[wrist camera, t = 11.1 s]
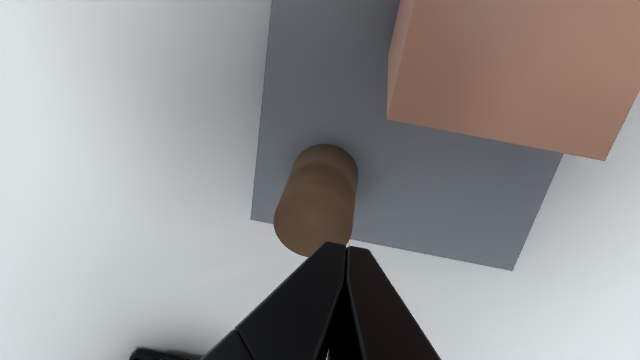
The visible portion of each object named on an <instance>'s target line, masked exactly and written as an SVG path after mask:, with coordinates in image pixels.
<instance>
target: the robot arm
mask: <svg viewBox="0 0 640 360" xmlns="http://www.w3.org/2000/svg"><path fill="white" fill-rule="evenodd" d="M327 354H328V356H327ZM326 358H327V360H441V358H440V357H439V355H438V354H437V352H436V351H435V349H434V348H433V346H432V345H431V343H430V342H429V340H428V339H427V337H426V336H425V334H424V333H423V331H422V330H421V328H420V327H419V325H418V323H417V322H416V320H415V319H414V317H413V316H412V314H411V313H410V311H409V310H408V308H407V307H406V305H405V304H404V302H403V301H402V299H401V298H400V296H399V295H398V293H397V292H396V290H395V289H394V287H393V286H392V284H391V283H390V281H389V280H388V278H387V276H386V275H385V273H384V272H383V270H382V269H381V267H380V266H379V264H378V263H377V261H376V260H375V258H374V257H373V255H372V254H371V252H370V251H369V250H368V249H364V248H359V247H354V246H349V247H348V248H346V246H345V245H344V244H339V243H334V242H329V241H327V242H325V243H323V244H322V245H321V246H320V247H319V248H318V249H317V250H316V251H315V252H314V253H313V254H312V255H311V256H310V257H309V258H308V259H307V260H305V261H304V262H303V263H302V264H301V265H300V266H299V267H298V268H297V269H296V270H295V271H294V272H293V273H292V274H291V275H290V276H289V277H288V278H287V279H285V280H284V281H283V282H282V283H281V284H280V285H279V286H278V287H277V288H276V289H275V290H274V291H273V292H272V293H271V294H270V295H269V296H268V297H267V298H266V299H264V300H263V301H262V302H261V303H260V304H259V305H258V306H257V307H256V308H255V309H254V310H253V311H252V312H251V313H250V314H249V315H248V316H247V317H246V318H244V319H243V320H242V321H241V322H240V323H239V324H238V325H237V326H236V327H235V329H234V330H232V331H230V332H229V333H228V334H227V335H226V336H225V337H224V338H223V339H222V340H221V341H220V342H219V343H218V344H217V345H216V346H215V347H213V348H212V349H211V350H210V351H209V352H208V353H207V354H205V355H204V356H203V357H202V358H201V359H200V360H326ZM129 360H189V359H184V358H179V357H174V356H169V355H165V354H160V353H155V352H150V351H145V350H140V349H137V350H134V351H133V353H132V355H131V356H130V359H129Z"/></svg>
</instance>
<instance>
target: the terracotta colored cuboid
mask: <svg viewBox="0 0 640 360" xmlns="http://www.w3.org/2000/svg"><path fill="white" fill-rule="evenodd" d="M639 90H640V0H400V4H399V8H398V13H397V17H396V22H395V26H394V31H393V35H392V40H391V45H390V49H389V54H388V90H387V120H392V121H398V122H403V123H408V124H413V125H419V126H424V127H429V128H434V129H440V130H445V131H450V132H455V133H461V134H466V135H471V136H476V137H482V138H487V139H492V140H497V141H503V142H508V143H513V144H518V145H524V146H529V147H534V148H539V149H545V150H550V151H555V152H560V153H566V154H571V155H576V156H581V157H587V158H592V159H597V160H602V161H605V159H606V157H607V155H608V153H609V151H610V149H611V147H612V145H613V143H614V141H615V139H616V137H617V135H618V133H619V131H620V129H621V127H622V125H623V123H624V121H625V119H626V117H627V115H628V113H629V110H630V108H631V106H632V104H633V102H634V100H635V98H636V96H637V94H638V92H639Z"/></svg>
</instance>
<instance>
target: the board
mask: <svg viewBox="0 0 640 360" xmlns="http://www.w3.org/2000/svg"><path fill="white" fill-rule="evenodd" d="M399 4H400V0H272V6H271V16H270V26H269V36H268V47H267V57H266V67H265V77H264V87H263V98H262V108H261V118H260V128H259V138H258V149H257V159H256V169H255V179H254V189H253V200H252V210H251V220H256V221H261V222H266V223H271V224H274V214H275V211H276V208H277V206H278V203H279V201H280V198H281V196H282V193H283V190H284V188H285V185H286V183H287V180H288V178H289V175H290V173H291V170H292V168H293V165H294V162H295V160H296V158H297V157H298V155H299V154H300V153H301V152H302V151H304V150H305V149H307V148H308V147H311V146H313V145H317V144H330V145H334V146H337V147H340V148H341V149H343V150H345V151H346V152H347V153H348V154H349V155H350V156H351V157H352V158H353V160H354V161H355V163H356V165H357V169H358V184H357V193H356V202H355V211H354V220H353V229H352V234H351V237H350V239H353V240H358V241H363V242H368V243H373V244H378V245H383V246H388V247H393V248H398V249H404V250H409V251H414V252H419V253H424V254H429V255H434V256H439V257H444V258H449V259H455V260H460V261H465V262H470V263H475V264H480V265H485V266H490V267H495V268H500V269H505V270H511V271H513V268H514V266H515V264H516V262H517V259H518V257H519V255H520V252H521V250H522V248H523V245H524V243H525V241H526V238H527V236H528V234H529V232H530V229H531V227H532V225H533V222H534V220H535V218H536V215H537V213H538V211H539V209H540V206H541V204H542V202H543V199H544V197H545V195H546V192H547V190H548V188H549V186H550V183H551V181H552V179H553V176H554V174H555V172H556V169H557V167H558V165H559V163H560V160H561V158H562V156H563V153H560V152H555V151H550V150H545V149H539V148H534V147H529V146H524V145H518V144H513V143H508V142H503V141H497V140H492V139H487V138H482V137H476V136H471V135H466V134H461V133H455V132H450V131H445V130H440V129H434V128H429V127H424V126H419V125H413V124H408V123H403V122H398V121H392V120H387V90H388V54H389V49H390V45H391V40H392V35H393V31H394V26H395V22H396V17H397V13H398V8H399Z"/></svg>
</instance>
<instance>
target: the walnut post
mask: <svg viewBox="0 0 640 360" xmlns="http://www.w3.org/2000/svg"><path fill="white" fill-rule="evenodd" d="M357 184H358V169H357V165H356V163H355V161H354V160H353V158H352V157H351V156H350V155H349V154H348V153H347V152H346V151H345V150H343V149H341V148H340V147H337V146H334V145H330V144H317V145H313V146H311V147H308V148H307V149H305V150H304V151H302V152H301V153H300V154H299V155H298V157H297V158H296V160H295V162H294V165H293V168H292V170H291V173H290V175H289V178H288V180H287V183H286V185H285V188H284V190H283V193H282V196H281V198H280V201H279V203H278V206H277V208H276V211H275V214H274V228H275V232H276V234H277V236H278V238H279V239H280V241H281V242H282V243H283V244H284V245H285V246H286V247H287V248H288V249H290V250H291V251H293V252H295V253H297V254H299V255H302V256H306V257H310V256H311V255H312V254H313V253H314V252H315V251H316V250H317V249H318V248H319V247H320V246H321V245H322V244H323V243H325V242H327V241H329V242H334V243H339V244H344V245H346V244H347V243H348V241H349V239H350V237H351V234H352V229H353V220H354V211H355V202H356V193H357Z"/></svg>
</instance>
